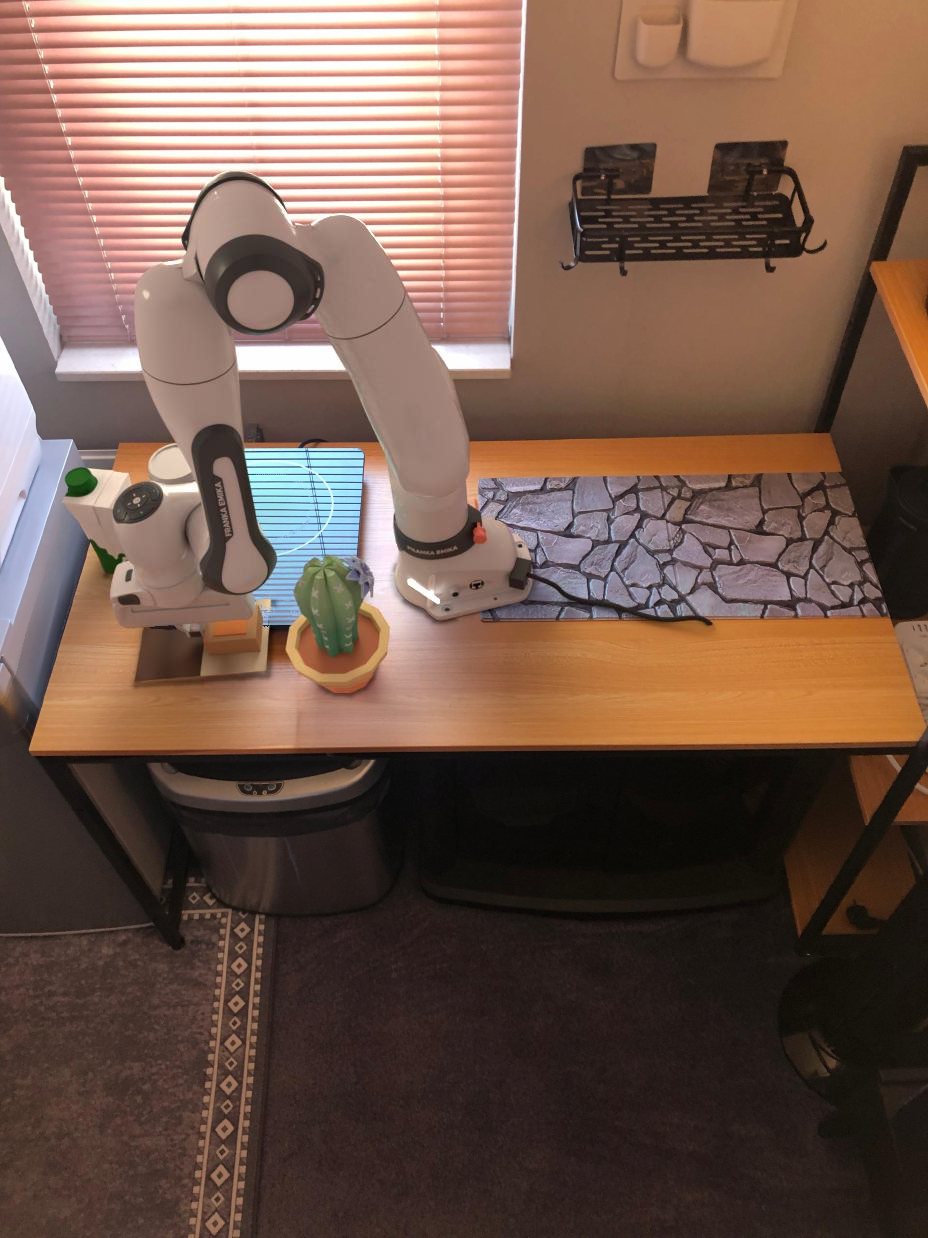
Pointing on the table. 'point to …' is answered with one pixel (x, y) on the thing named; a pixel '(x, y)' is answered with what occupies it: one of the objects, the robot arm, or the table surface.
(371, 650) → the potted cactus
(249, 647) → the coffee packet
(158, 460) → the disposable coffee cup
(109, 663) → the table surface
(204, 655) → the board
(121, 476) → the milk carton
